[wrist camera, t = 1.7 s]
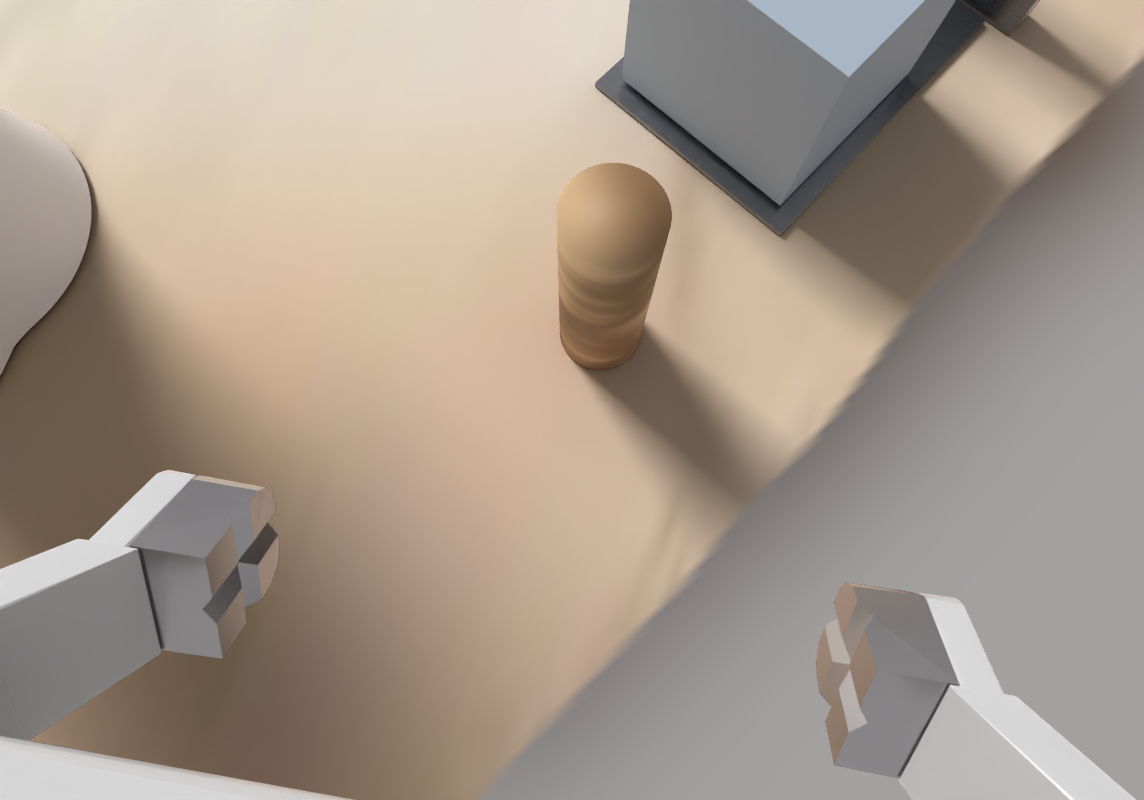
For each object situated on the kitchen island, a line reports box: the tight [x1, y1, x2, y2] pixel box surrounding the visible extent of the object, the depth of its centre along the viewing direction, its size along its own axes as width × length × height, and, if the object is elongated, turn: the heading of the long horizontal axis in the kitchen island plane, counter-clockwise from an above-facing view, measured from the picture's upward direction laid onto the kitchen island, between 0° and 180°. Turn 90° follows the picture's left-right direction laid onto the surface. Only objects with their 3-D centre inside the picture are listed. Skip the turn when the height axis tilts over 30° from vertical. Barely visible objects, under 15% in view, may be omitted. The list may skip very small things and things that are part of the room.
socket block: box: [622, 0, 956, 205], centre depth 37 cm, size 11×11×10 cm
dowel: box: [557, 163, 672, 370], centre depth 33 cm, size 4×4×12 cm
